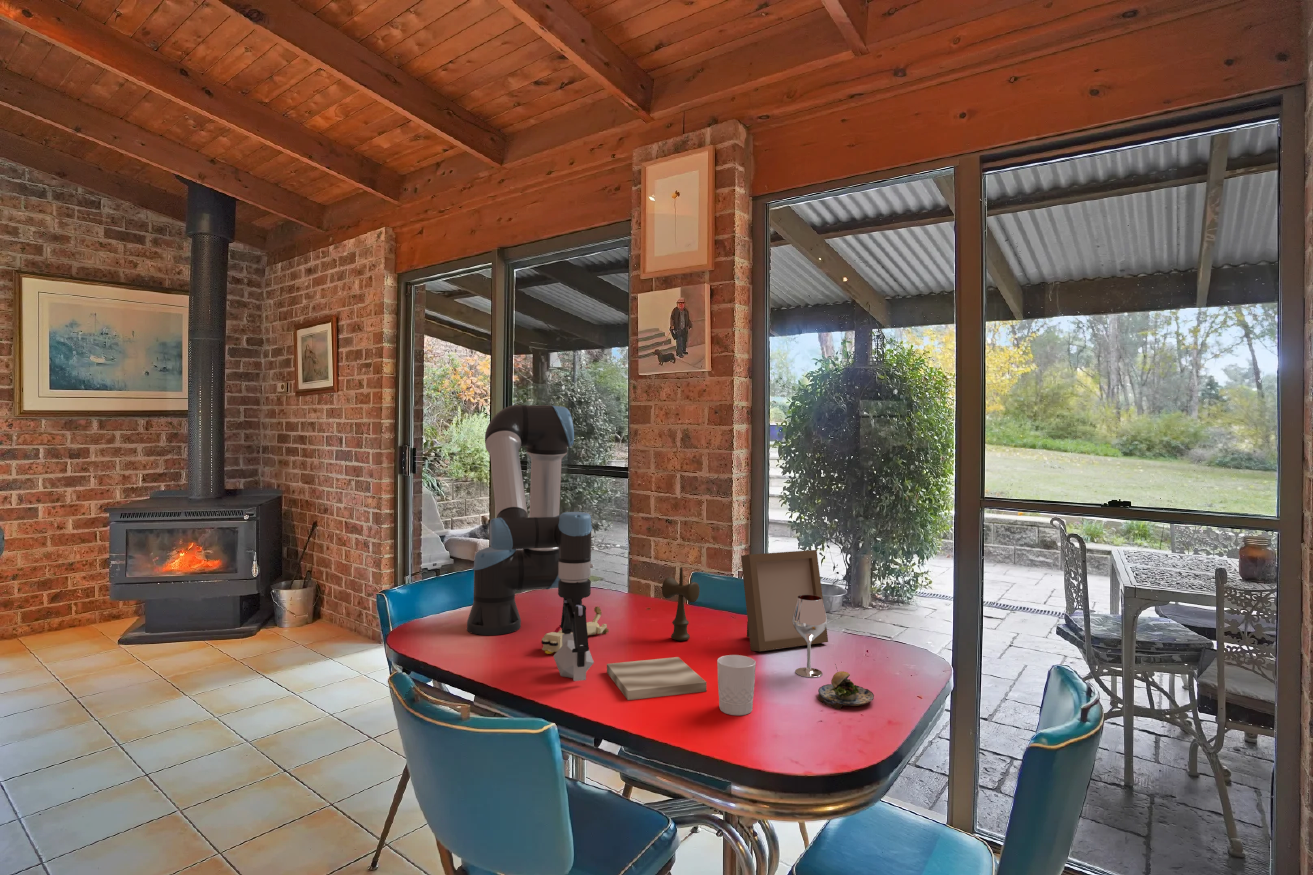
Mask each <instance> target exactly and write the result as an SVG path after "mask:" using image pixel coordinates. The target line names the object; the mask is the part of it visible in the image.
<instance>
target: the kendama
mask: <svg viewBox="0 0 1313 875" xmlns="http://www.w3.org/2000/svg"><path fill="white" fill-rule="evenodd" d="M683 574H684V572H683V567H679V579H678V581H679V582H678V581H677V580H676V579H675V578H674V577H672V576H667V577H666V578H665V579H663V582H662V586H661V593H662V596H663V598H665V599H671V598H672V597H674V596H677V595H678V599H677V607H676V612H675V618H674V619H673V620H672V622H671V624H672V625H673V632H672V633H671V635H670V637H671V638H670V639H672V640H675V641H677V642H678V641H682V642H684V641H687V640H689V639H690V638H691V636H690V634H689V632H688V625H689V624H690V621H688V619H687V616H686V610H685V603H684V602H685V601H684V598H685V599H686V601H687V602H689V603H695V602H697V601H698V600H699V597H700V592H701V591H700V586H699V583H698V582H696V581H692V582H690V583H688V584H686V585H685V584H684V577H683Z"/></svg>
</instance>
